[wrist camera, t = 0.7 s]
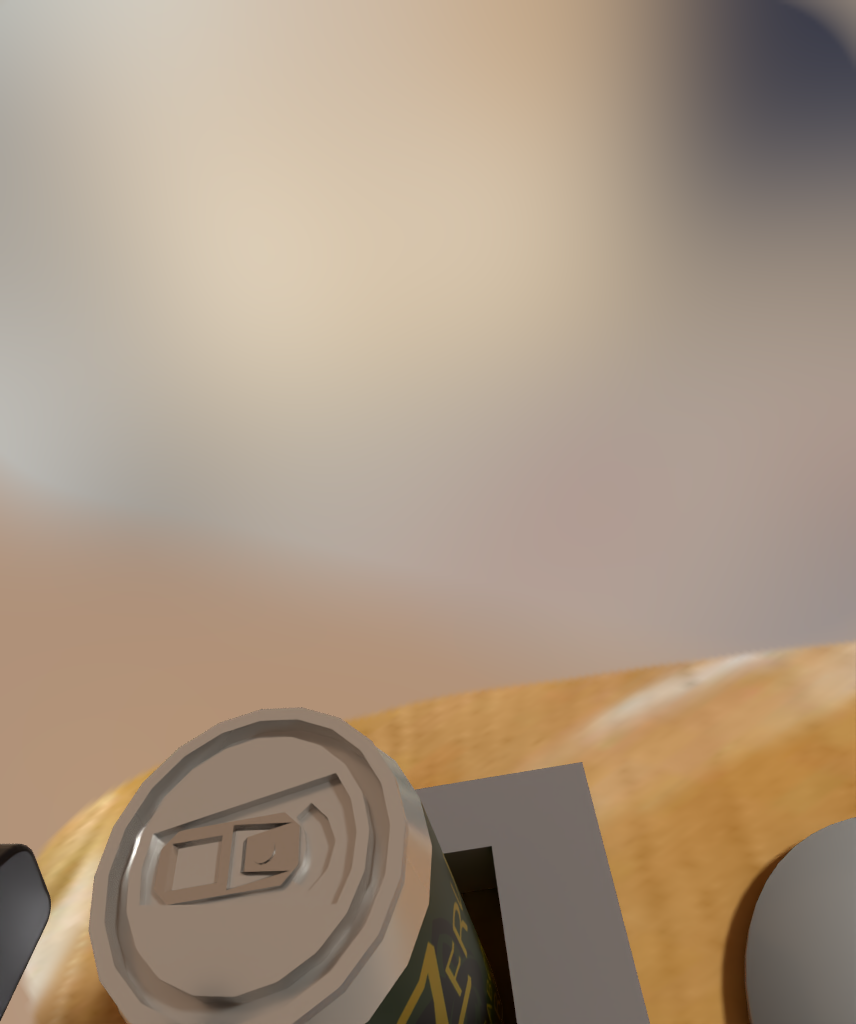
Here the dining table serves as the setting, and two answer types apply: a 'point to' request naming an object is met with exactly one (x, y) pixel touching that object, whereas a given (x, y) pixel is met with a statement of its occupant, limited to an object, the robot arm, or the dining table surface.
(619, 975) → the can dock
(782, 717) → the dining table surface
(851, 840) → the coaster
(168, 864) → the beer can
